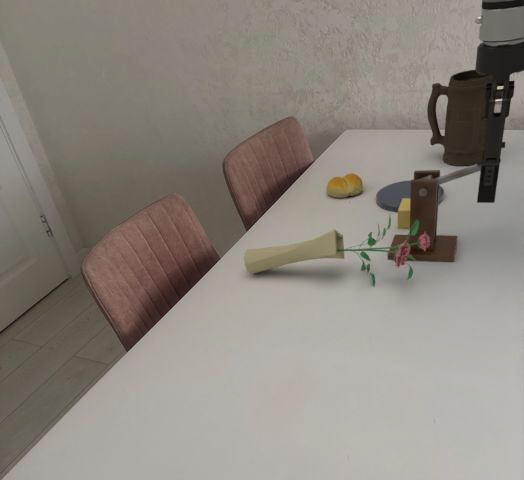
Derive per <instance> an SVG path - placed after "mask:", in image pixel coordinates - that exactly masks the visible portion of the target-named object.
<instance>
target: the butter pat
mask: <svg viewBox="0 0 524 480" xmlns="http://www.w3.org/2000/svg"><path fill="white" fill-rule="evenodd" d="M397 228H398V229H410V198H403V199H402V201H401V204H400V207H399V209H398V212H397Z"/></svg>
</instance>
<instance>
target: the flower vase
mask: <svg viewBox="0 0 524 480" xmlns="http://www.w3.org/2000/svg"><path fill="white" fill-rule="evenodd" d="M388 218H389V219H388V225H387V228H385V227H383V231H382V233H381V232H380V231H381V230H380V226H379V222H377V228H378V233H377V236H376V238H377V239H375V238H374V237H372V235H373V231H370V232H369V233H368V235H367V236H368V238H367V239H366V240H364V242H366V241H367V242H366V243H360V244H359V245H357V247H359V248H355V247H356V245H354V246H353V248H352V246H351V247H348V248H345V245H344V244H345V243H344V235H343V234H341V233H340V232H339V231H338V230H337V229H332V230H330V231H329V232H326V233H324V234H322V235H320V236H317V237H315V238H313V239H309V240H306V241H301V242H297V243H292V244H286V245H278V246H268V247H261V248H260V247H259V248H252V249H247V250H245V252H244V255H243V262H244V266H245V269H246V271H247V272H248V273H249V274H250V275H251V274H252V275H253V274H257V273H261V272H265V271H268V270H271V269H274V268H279V267H282V266H286V265H290V264H294V263H299V262H305V261H311V260H318V259H319V260H321V259H341V260H345V252H353V253H355V254H357V252H360V253H359V255H358V257H359V258H360V260H361V261H362V264H361V267H360V271H361V272H363V271H367V273H368V274H369V275H370V276H371V281H372V286H373V287H375V285H376V276H375V274H374V273H372V272H370V270H371V264H370V263H368V264H366V263H365V260H366V261H369V262H372V260H371V258H370V256H369V254H367V253H366V252H381V253H388V252H390V253H395V257H394V260H393V262H394V263H395V265H394V267H396V268H397V269H399V268H400V266H405V265H406V263H407V261H408V260H407V258H410V259H413V260H412V261H417V260H415V259H414V258H413V257H412V256H411V255H409V252H410V246H409V245H415V244H417V245H418V247H419V248H421V249H423V250H424V252H425V251H426V248H427V247H428V245H430V244H429V242H430V240H429V239H430V237H428V236H427V235H426V232H425V233H424V234H423V235H421V236H420V237H419V239H418V242H417V243H412V244H408V243H407V241H405V242H404V243H402V244H401V245H398V246H395V247H391V246H386V247H373V246H375V245H376V244H377V243H378V242H380V240H383V238H384V237H385V236H386V234H387V231H388V230H390V228H391V226H392V218H391V215H389V216H388ZM418 228H419V221H418V219H417V220H416V221H415V223H414V224H413V226H412V227H411V229H410V228H409V232H408V233H407V234H406V235H407V236H408V235H410V233H411V235H414V236H415V234H416V233H417V231H418ZM409 237H410V236H409ZM409 237H408V238H409ZM407 240H408V239H407ZM406 244H407V245H406ZM364 245H368V246H370V247H364V248H361V247H362V246H364ZM390 248H394V249H395V248H397V249H395V250H396V251H389V249H390ZM407 256H408V257H407ZM363 259H365V260H363ZM408 266H409V269H408V272H407V273H408V274H407V281H409V280H410V279H411V278H412V277H413V274H414V270H413V268H412V267H411V265H410V264H408Z"/></svg>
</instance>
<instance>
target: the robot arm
mask: <svg viewBox="0 0 524 480" xmlns="http://www.w3.org/2000/svg"><path fill="white" fill-rule="evenodd" d="M480 13H481V15H478V16H476V18H475V20H474V21H475V24H476V25H480V26H479V28H478V29H479V31H478V39H479V41H481V42H480V44H478V46H477V47H476V57H475V68H474V70H476V72H477V73H479V74H481V75H491V76H493V78H492V80H491V83H487V84H486V92H485V99H486V107H485V118H486V119H487V129H486V135H485V143H484V150H483V157H482V161H478V162H477V166H481V171H479V172H480V173H479V181H478V188H477V189H478V191H477V199H476V203H478V204H479V203H480V204H481V203H482V204H484V203H485V204H486V203H488V204H489V203H490V204H493V203H495V201H496V194H497V186H498V180H499V172H500V165H501V161H502V159H501V154H502V149H505V148H506V141H503V139H504V133H505V125H506V119H507V118H508V117H509V115H510V109H511V104H512V103H511V102H512V99H513V97H514V94H515V88H516V87H515V86H516V85H515V80H511V78H510V77H511V75H512V74H515V73H516V74H517V73H522V72H524V0H481V10H480Z"/></svg>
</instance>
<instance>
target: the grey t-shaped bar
mask: <svg viewBox="0 0 524 480" xmlns="http://www.w3.org/2000/svg"><path fill="white" fill-rule="evenodd" d="M478 172H481V166H477V164H474V165H468V166H467V167H466V166H465V167H464V168H460V169H458V170H455V171H452V172H449V173H447V174H443V175H440V177H438V178H435V179H438V184H437V185H440V186H441V185H442V184H443V185H444V184H445V183H449V182H451V181H455V180H457V179H461V178H463V177H466V176H469V175H472V174H475V173H478ZM420 179H433V177H432V175H429V176H426V177H423V178H420Z"/></svg>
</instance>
